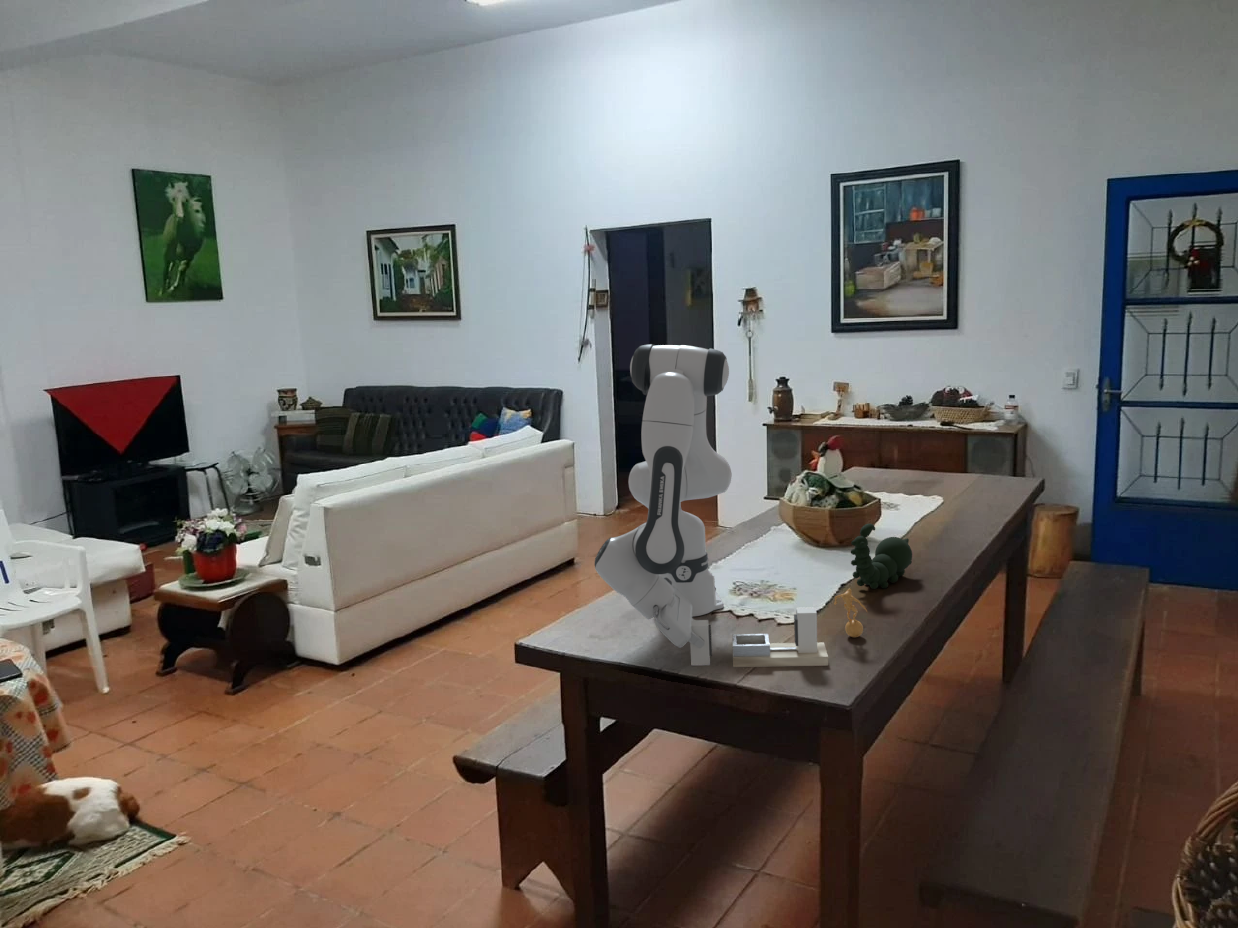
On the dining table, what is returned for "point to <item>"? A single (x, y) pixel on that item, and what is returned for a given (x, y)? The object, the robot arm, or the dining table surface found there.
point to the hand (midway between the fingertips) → (702, 640)
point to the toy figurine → (880, 559)
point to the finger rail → (782, 646)
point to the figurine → (852, 626)
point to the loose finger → (703, 654)
